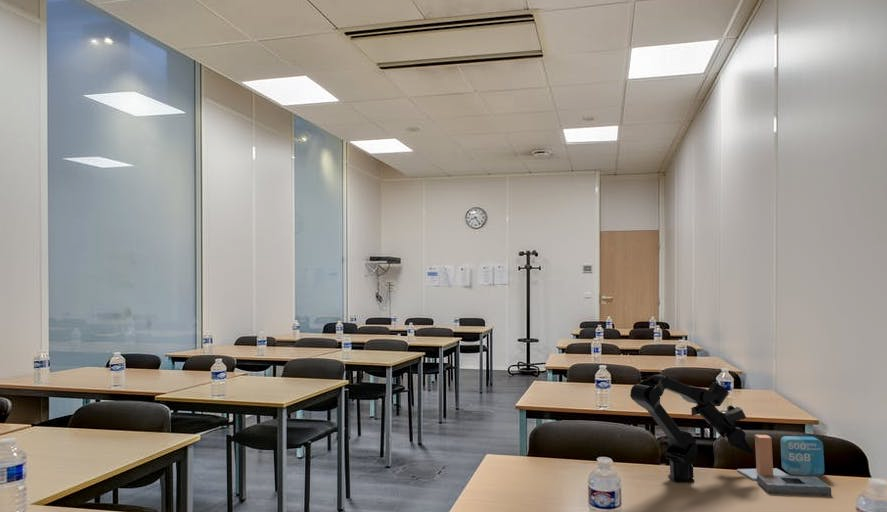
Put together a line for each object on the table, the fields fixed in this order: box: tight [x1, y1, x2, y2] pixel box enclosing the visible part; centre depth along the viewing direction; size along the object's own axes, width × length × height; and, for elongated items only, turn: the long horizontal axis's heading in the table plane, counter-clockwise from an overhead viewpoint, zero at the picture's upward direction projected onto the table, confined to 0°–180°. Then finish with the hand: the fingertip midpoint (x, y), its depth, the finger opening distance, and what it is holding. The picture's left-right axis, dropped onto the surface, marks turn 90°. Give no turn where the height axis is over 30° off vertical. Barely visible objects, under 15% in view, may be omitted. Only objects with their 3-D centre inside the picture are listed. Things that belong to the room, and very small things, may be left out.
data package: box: [779, 435, 825, 476], centre depth 202 cm, size 12×4×12 cm, turn 80°
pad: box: [736, 467, 791, 481], centre depth 200 cm, size 14×10×1 cm
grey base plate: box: [756, 475, 832, 497], centre depth 186 cm, size 18×10×2 cm, turn 79°
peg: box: [754, 434, 774, 475], centre depth 200 cm, size 4×4×12 cm
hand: (747, 448), depth 201 cm, fingers open, 9 cm apart
